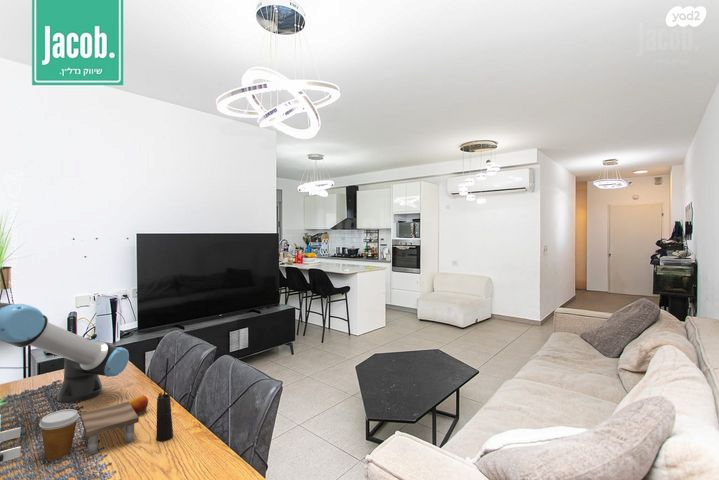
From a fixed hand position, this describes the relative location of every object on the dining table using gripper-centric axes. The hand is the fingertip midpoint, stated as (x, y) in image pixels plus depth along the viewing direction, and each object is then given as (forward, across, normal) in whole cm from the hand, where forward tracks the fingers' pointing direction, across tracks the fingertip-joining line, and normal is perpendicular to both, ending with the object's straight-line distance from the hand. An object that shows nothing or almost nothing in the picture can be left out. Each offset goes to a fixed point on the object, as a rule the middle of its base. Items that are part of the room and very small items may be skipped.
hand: (20, 441), depth 104 cm
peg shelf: (+22, 0, -7) cm, 23 cm away
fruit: (+33, -14, -7) cm, 36 cm away
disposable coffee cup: (+9, 0, -7) cm, 11 cm away
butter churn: (+36, +10, -7) cm, 38 cm away
